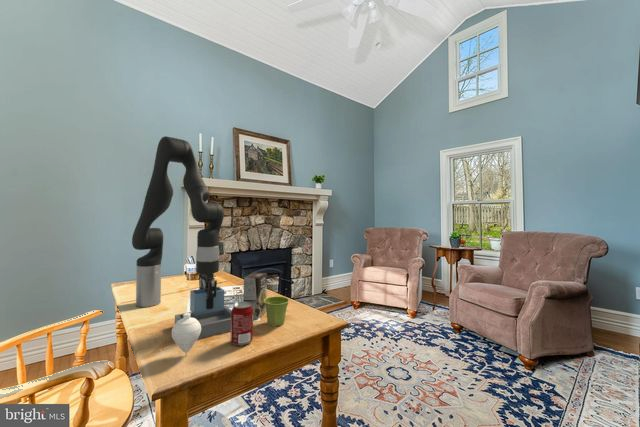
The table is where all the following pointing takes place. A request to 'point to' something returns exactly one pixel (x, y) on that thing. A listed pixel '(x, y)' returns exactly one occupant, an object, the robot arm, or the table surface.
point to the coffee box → (256, 292)
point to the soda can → (241, 323)
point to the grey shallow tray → (211, 322)
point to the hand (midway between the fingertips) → (207, 305)
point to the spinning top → (186, 332)
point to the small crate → (200, 301)
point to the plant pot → (276, 310)
